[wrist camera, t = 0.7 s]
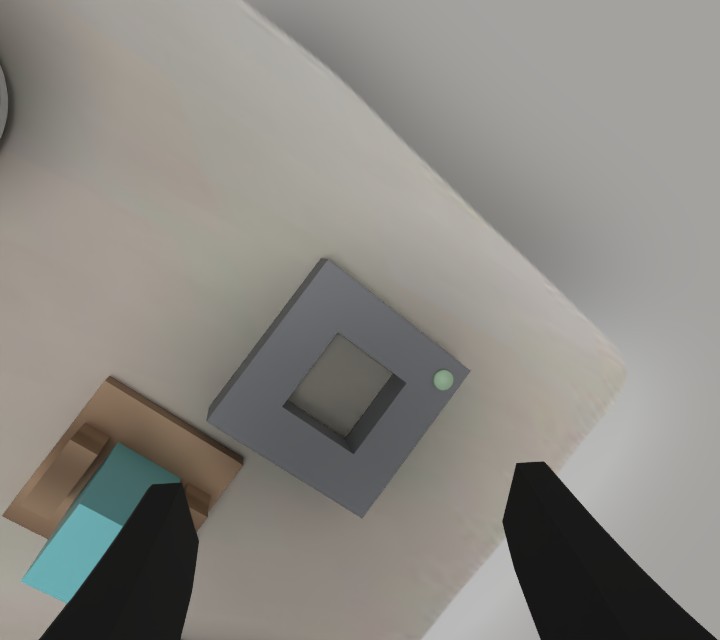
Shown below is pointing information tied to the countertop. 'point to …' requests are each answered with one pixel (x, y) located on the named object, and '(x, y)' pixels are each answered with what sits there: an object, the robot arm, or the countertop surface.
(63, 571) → the plug
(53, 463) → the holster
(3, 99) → the supplement tub
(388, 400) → the port
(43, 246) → the countertop surface
